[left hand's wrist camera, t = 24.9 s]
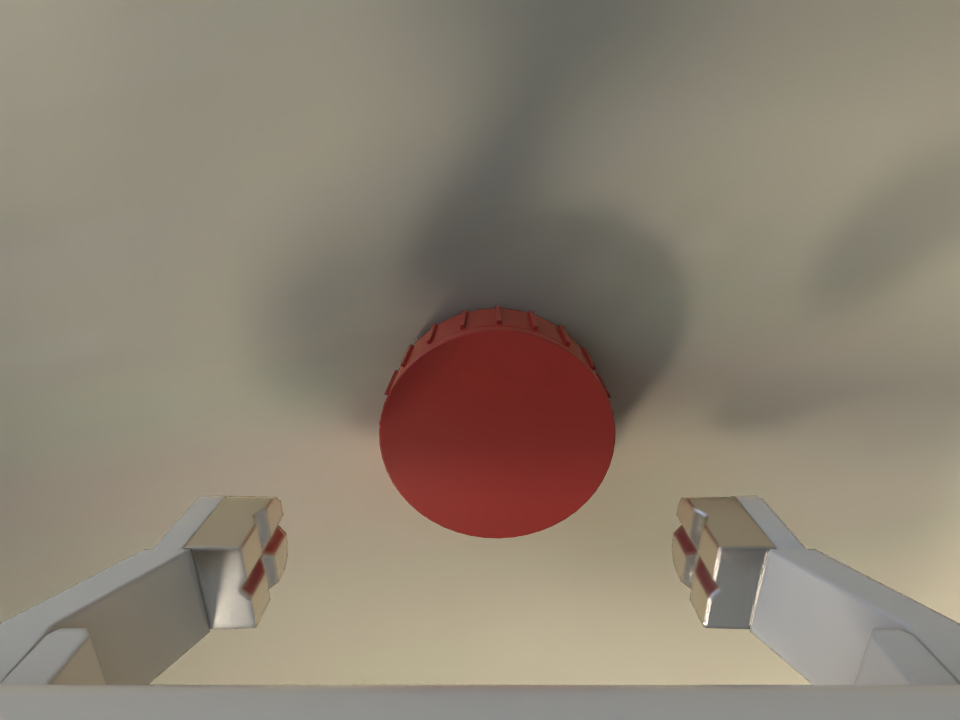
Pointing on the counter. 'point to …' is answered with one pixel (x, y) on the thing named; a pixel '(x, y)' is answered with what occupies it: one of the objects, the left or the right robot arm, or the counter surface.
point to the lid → (497, 424)
